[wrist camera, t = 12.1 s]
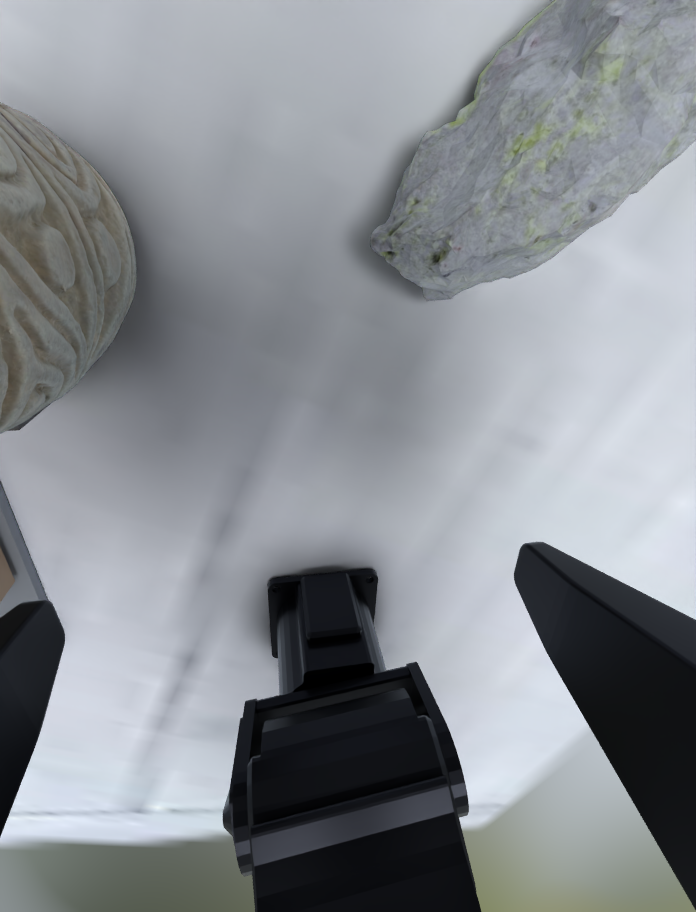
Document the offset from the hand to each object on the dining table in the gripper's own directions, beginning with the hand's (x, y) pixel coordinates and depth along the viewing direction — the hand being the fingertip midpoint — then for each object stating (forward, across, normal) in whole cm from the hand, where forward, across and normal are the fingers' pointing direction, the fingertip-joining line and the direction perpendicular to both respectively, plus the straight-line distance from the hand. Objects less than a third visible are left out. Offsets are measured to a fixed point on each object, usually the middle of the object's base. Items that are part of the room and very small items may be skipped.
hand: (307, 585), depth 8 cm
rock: (+13, -11, -10) cm, 20 cm away
